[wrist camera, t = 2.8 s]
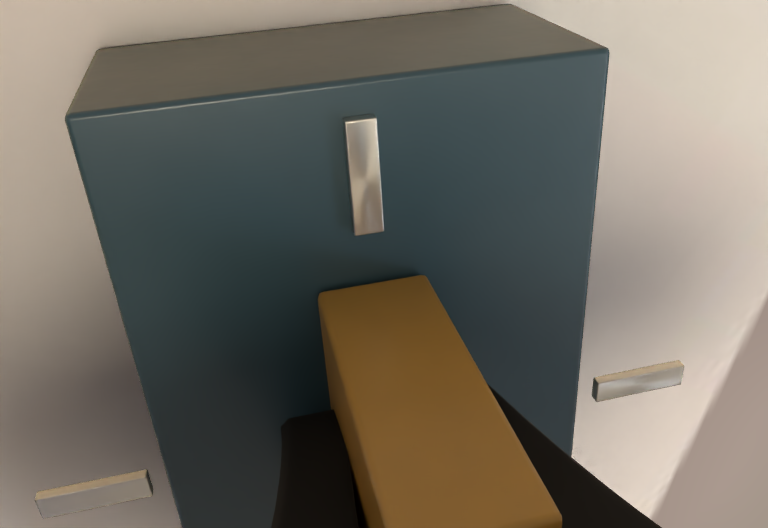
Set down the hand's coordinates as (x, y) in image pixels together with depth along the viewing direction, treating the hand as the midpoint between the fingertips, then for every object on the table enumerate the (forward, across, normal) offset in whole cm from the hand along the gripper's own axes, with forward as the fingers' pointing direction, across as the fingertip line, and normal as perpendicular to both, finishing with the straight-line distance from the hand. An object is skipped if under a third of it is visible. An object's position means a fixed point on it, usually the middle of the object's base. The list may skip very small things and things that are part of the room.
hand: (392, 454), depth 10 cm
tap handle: (0, 0, 0) cm, 0 cm away
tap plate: (+3, 0, 0) cm, 3 cm away
